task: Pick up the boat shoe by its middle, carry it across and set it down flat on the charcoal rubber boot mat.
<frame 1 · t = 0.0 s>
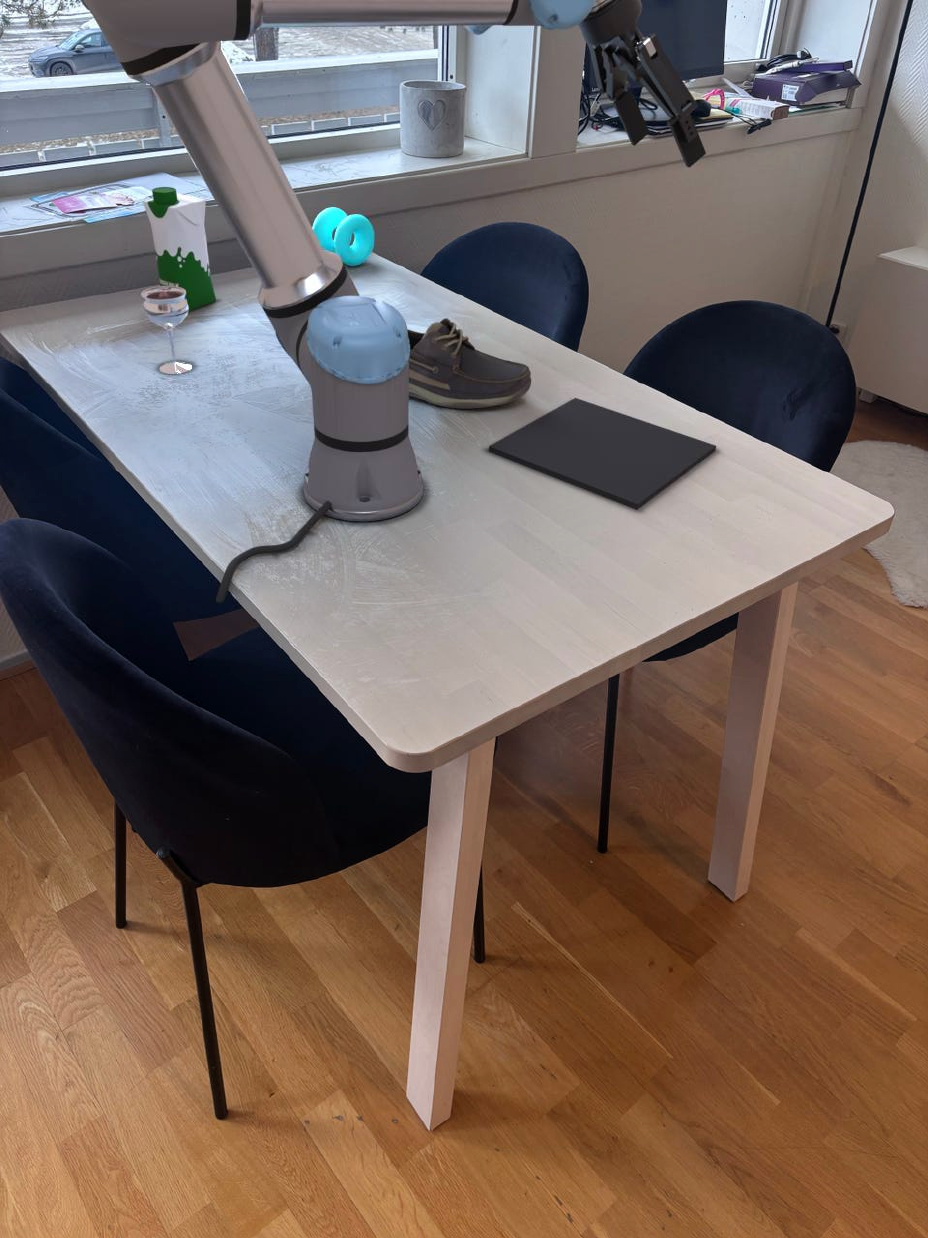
hand: (667, 148, 127), 36 cm above the table, tool tilted 35°, fingers open, 13 cm apart
wineglass: (175, 368, 153), on the table
donuts: (344, 262, 201), on the table
milk carton: (189, 303, 178), on the table
boot mat: (603, 450, 135), on the table
boat shoe: (435, 394, 149), on the table
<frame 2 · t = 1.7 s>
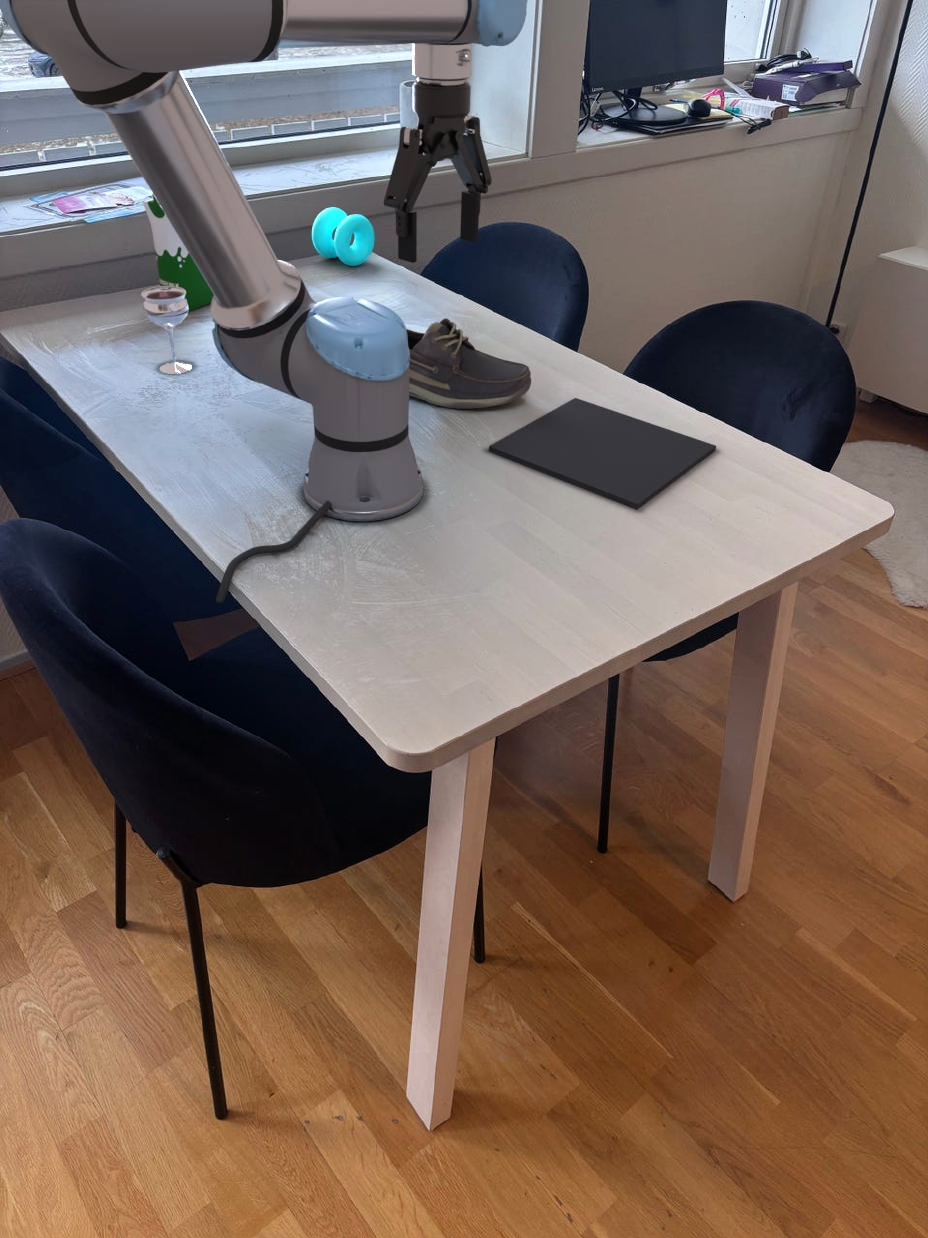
hand: (439, 250, 136), 22 cm above the table, tool pointing down, fingers open, 13 cm apart
nothing on the table moved.
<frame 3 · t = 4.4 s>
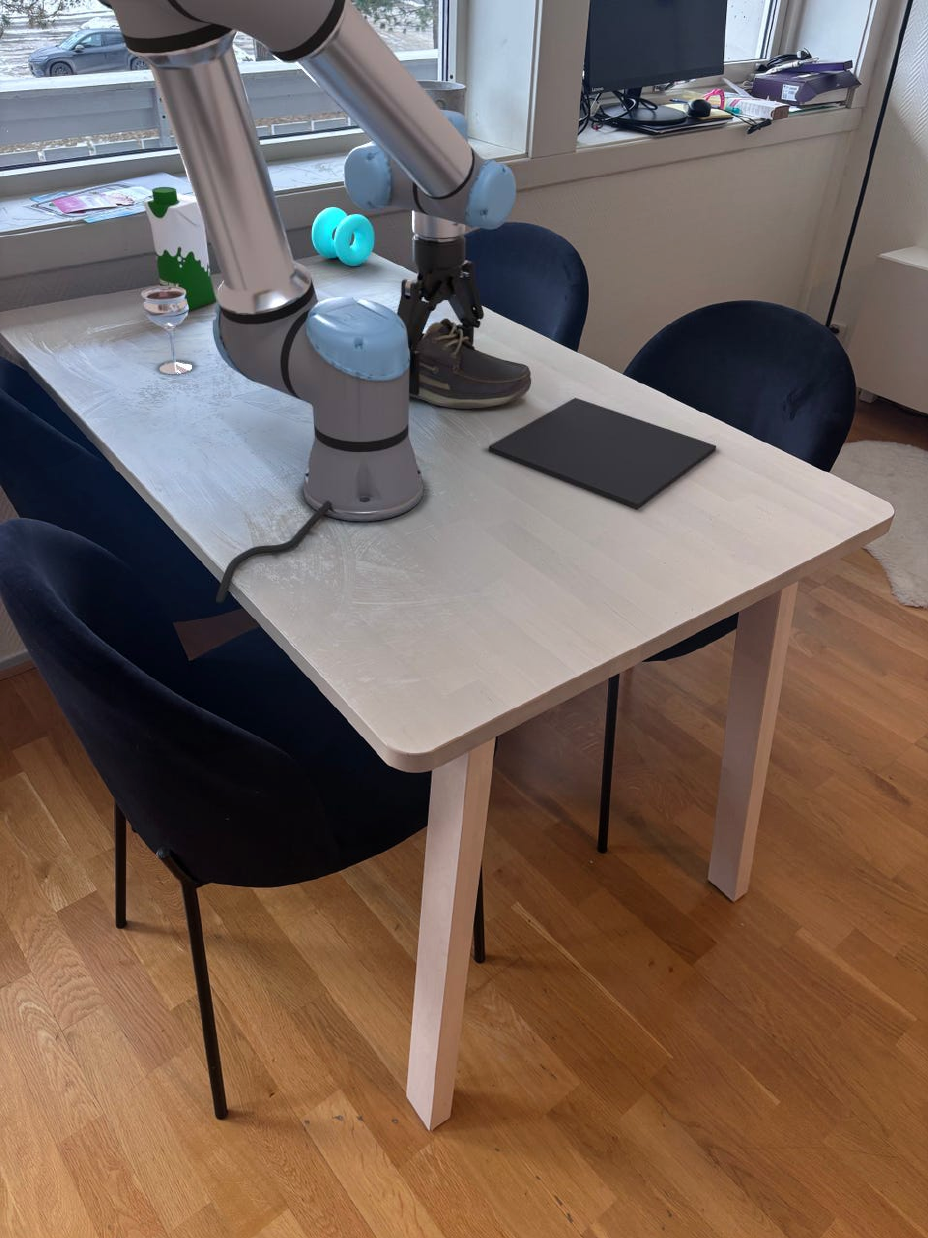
hand: (437, 379, 148), 2 cm above the table, tool pointing down, fingers closed on boat shoe, 12 cm apart
boat shoe: (435, 394, 149), on the table, touching gripper
everything else where it was.
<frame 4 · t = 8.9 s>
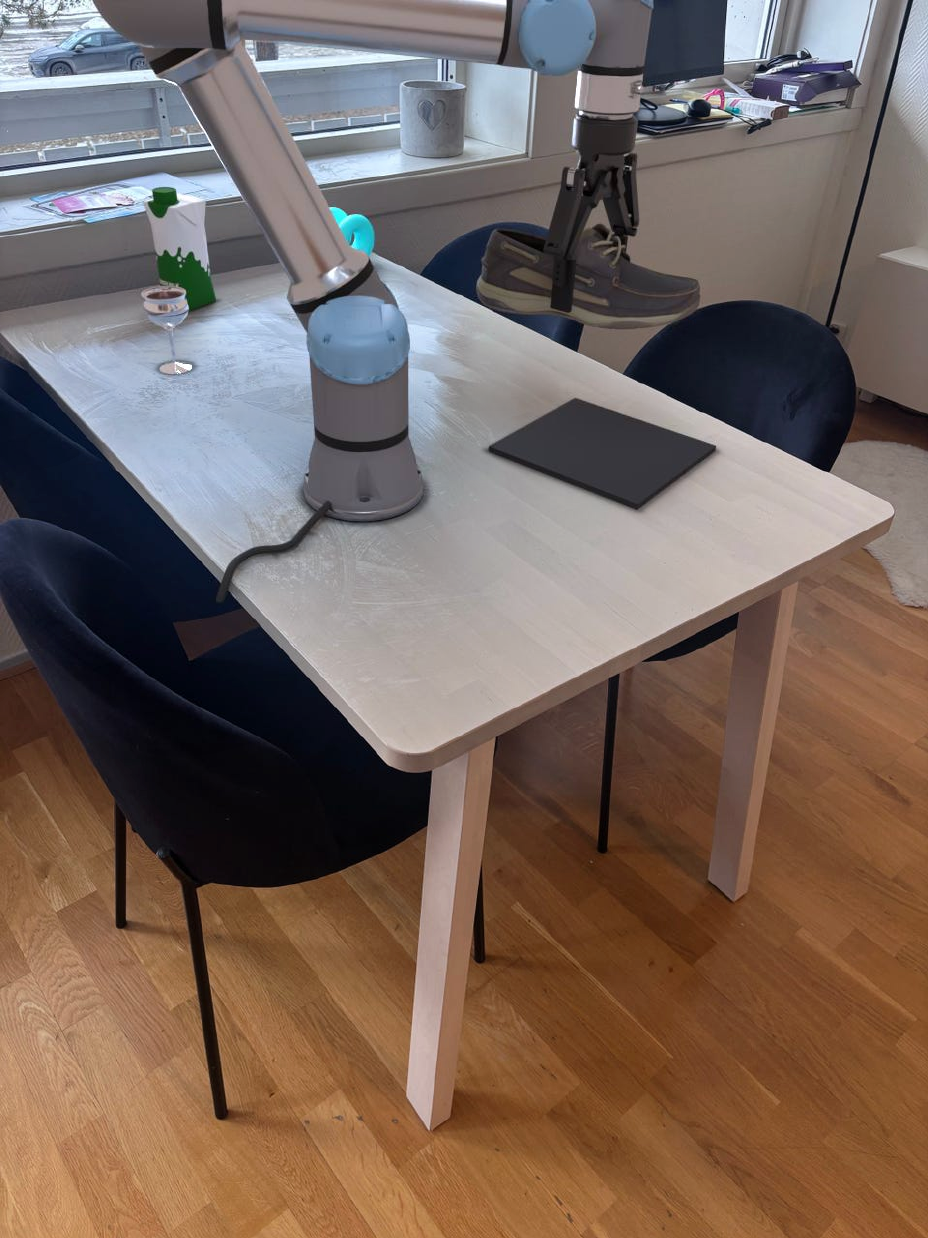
hand: (587, 297, 125), 20 cm above the table, tool pointing down, fingers closed on boat shoe, 12 cm apart
boat shoe: (583, 315, 126), point 18 cm above the table, touching gripper
everything else where it was.
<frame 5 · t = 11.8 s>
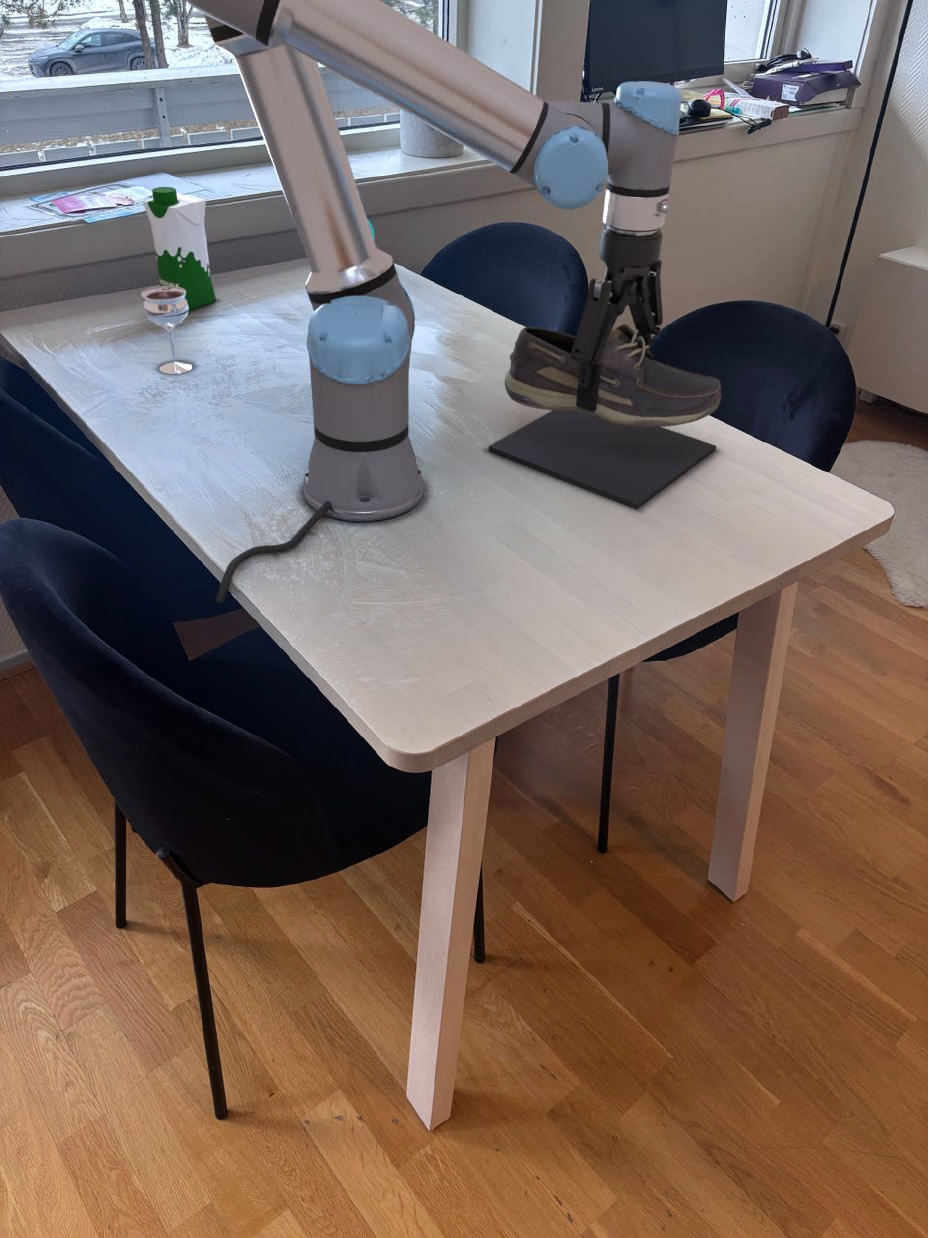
hand: (611, 393, 130), 9 cm above the table, tool pointing down, fingers closed on boat shoe, 12 cm apart
boat shoe: (607, 410, 131), point 6 cm above the table, touching gripper
everything else where it was.
when the fingers open (3 cm above the table, at t = 13.8 s): boat shoe stays where it is, resting on boot mat.
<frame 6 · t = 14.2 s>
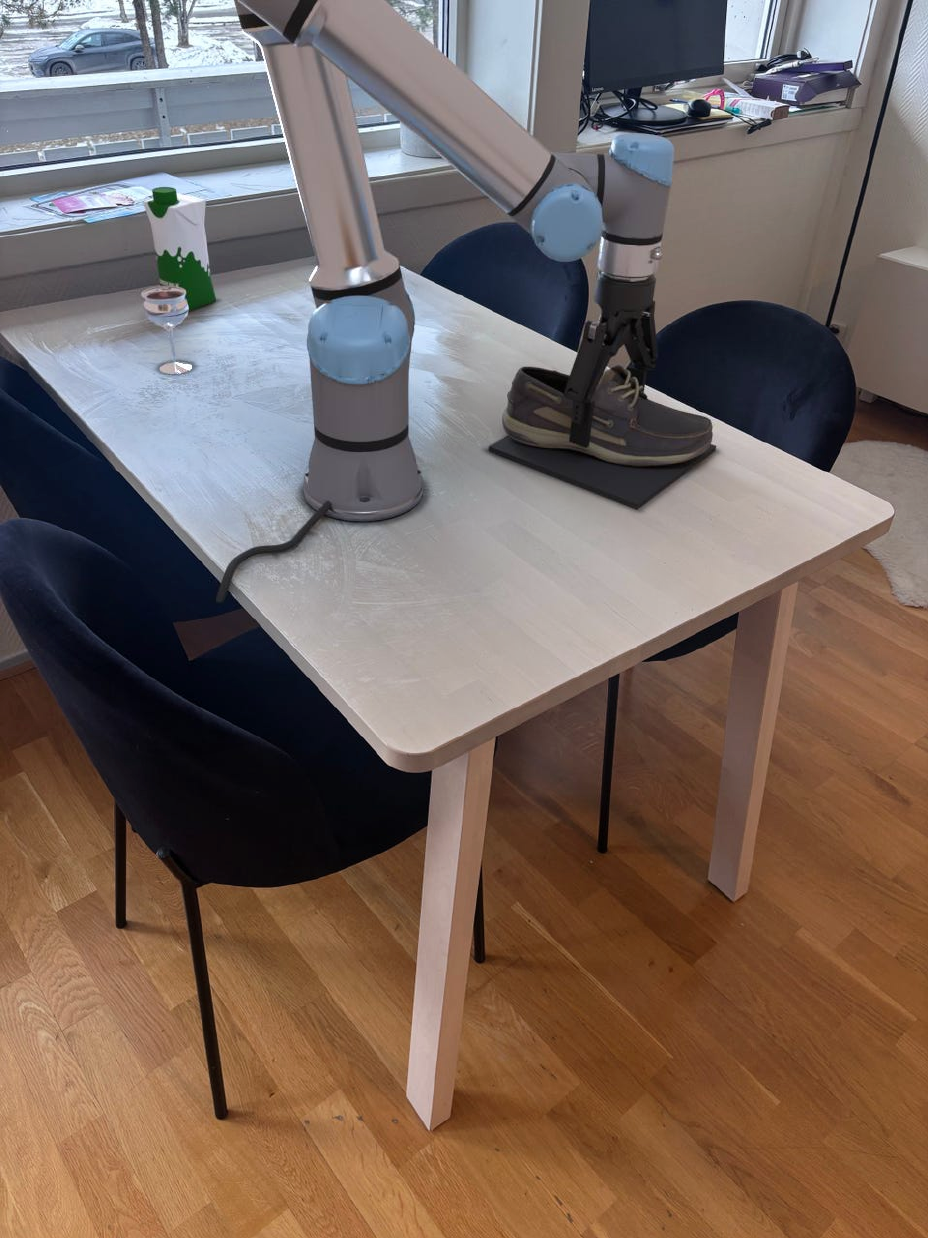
hand: (605, 427, 133), 4 cm above the table, tool pointing down, fingers open, 13 cm apart
boat shoe: (602, 448, 134), point 1 cm above the table, touching boot mat
everything else where it was.
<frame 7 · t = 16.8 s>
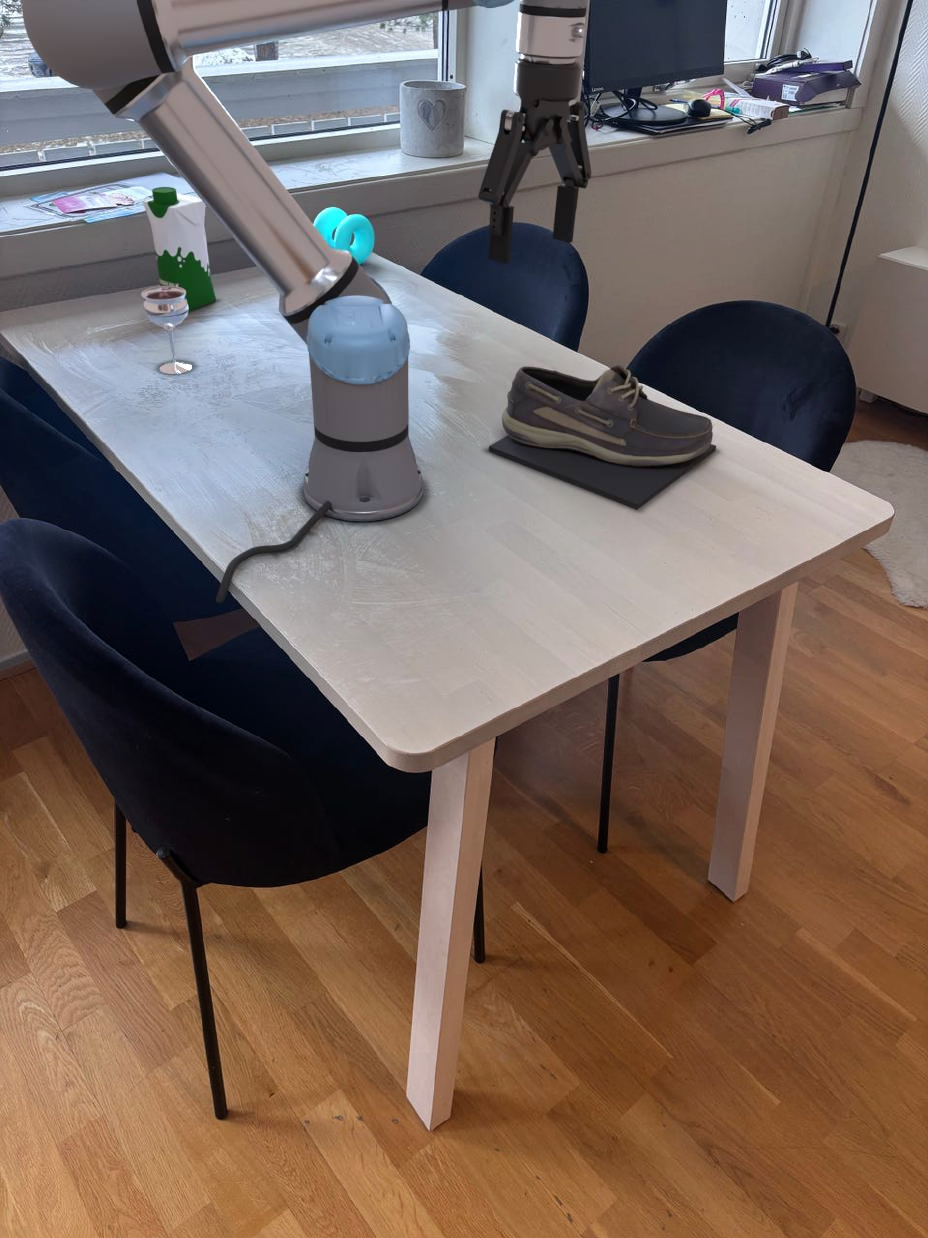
hand: (531, 250, 122), 26 cm above the table, tool pointing down, fingers open, 13 cm apart
nothing on the table moved.
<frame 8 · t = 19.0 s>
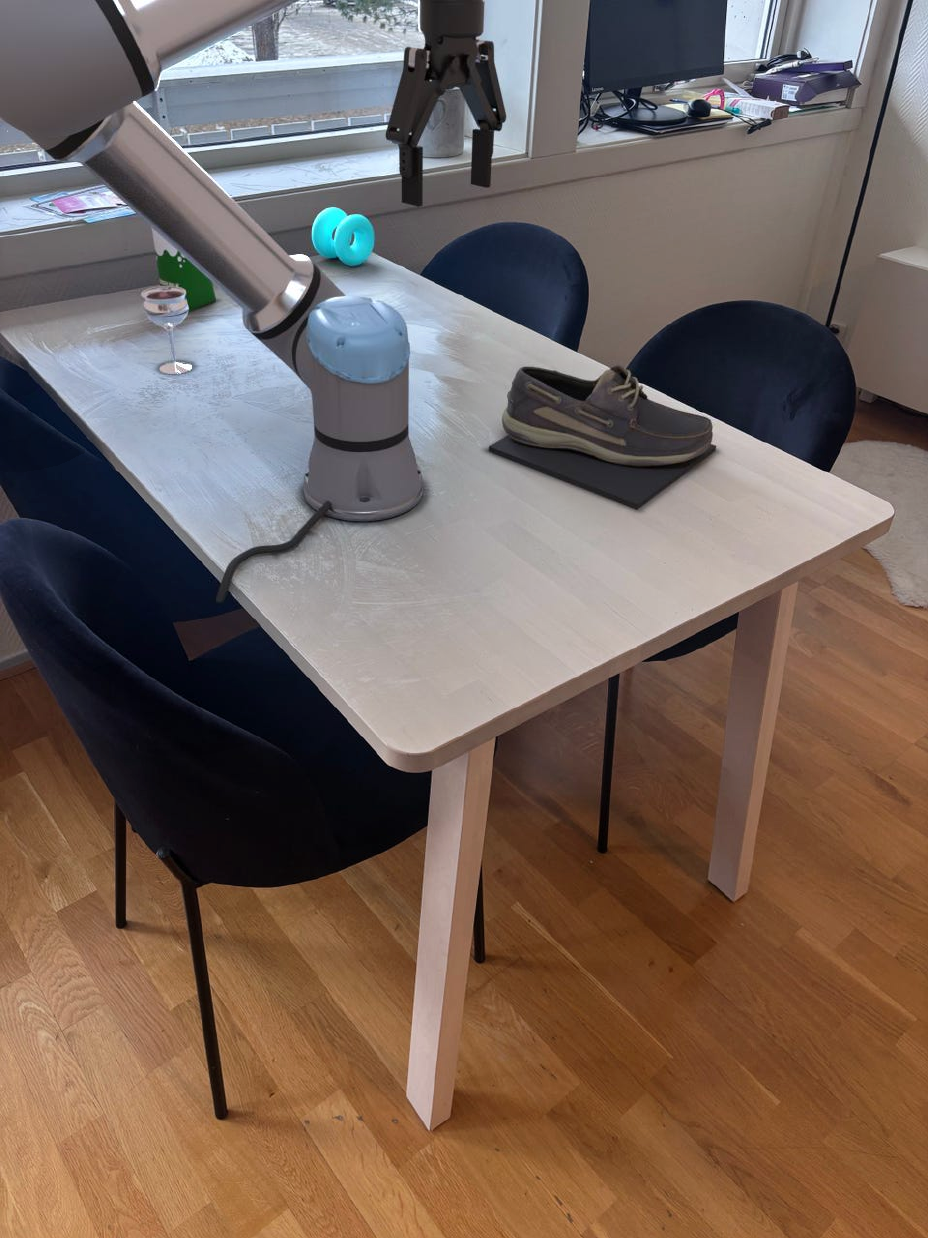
hand: (447, 194, 121), 32 cm above the table, tool pointing down, fingers open, 13 cm apart
nothing on the table moved.
at the end: boat shoe inside the target area on the boot mat (0.4 cm from its centre), point 0.6 cm above the boot mat's base; boat shoe tilted 0°; the gripper is holding nothing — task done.
